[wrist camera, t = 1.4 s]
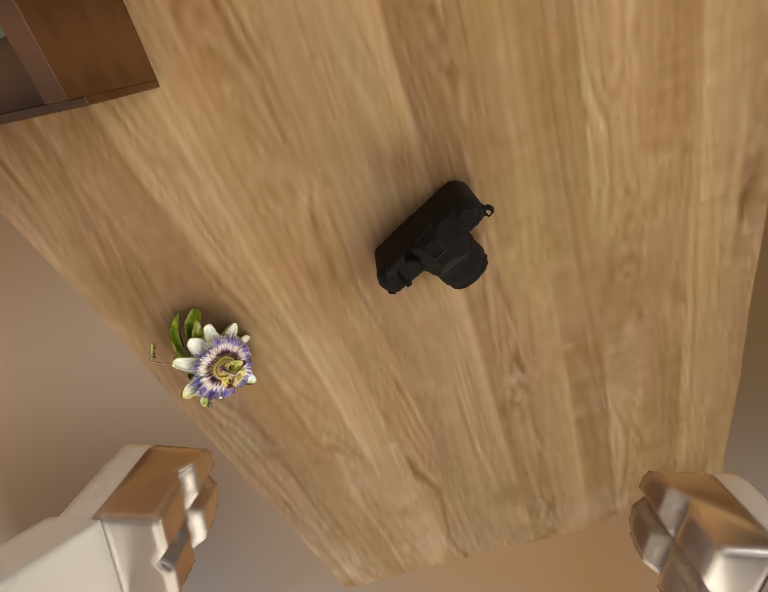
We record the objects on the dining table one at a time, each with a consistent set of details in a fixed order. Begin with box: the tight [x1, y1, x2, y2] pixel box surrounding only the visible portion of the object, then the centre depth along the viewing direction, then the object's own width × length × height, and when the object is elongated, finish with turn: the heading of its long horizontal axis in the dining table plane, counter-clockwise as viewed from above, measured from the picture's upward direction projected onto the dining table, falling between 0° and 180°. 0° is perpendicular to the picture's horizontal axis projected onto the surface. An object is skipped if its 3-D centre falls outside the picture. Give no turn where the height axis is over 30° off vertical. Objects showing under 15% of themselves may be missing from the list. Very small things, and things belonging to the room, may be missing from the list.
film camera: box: [375, 180, 494, 294], centre depth 47 cm, size 15×10×9 cm, turn 134°
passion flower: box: [149, 308, 256, 409], centre depth 54 cm, size 11×11×12 cm
